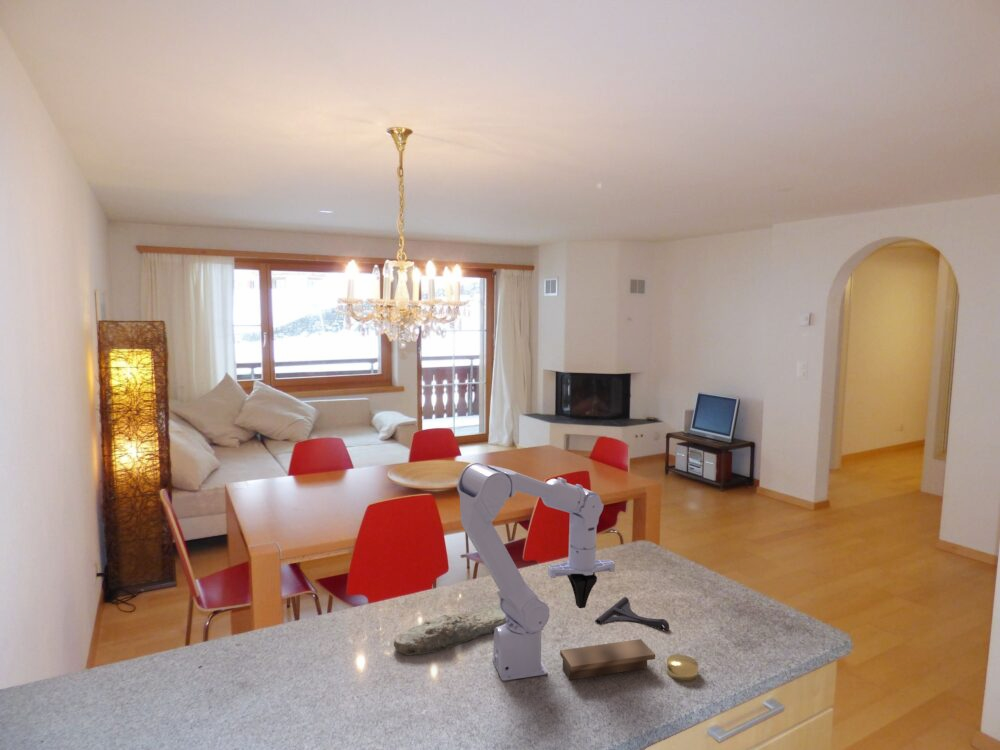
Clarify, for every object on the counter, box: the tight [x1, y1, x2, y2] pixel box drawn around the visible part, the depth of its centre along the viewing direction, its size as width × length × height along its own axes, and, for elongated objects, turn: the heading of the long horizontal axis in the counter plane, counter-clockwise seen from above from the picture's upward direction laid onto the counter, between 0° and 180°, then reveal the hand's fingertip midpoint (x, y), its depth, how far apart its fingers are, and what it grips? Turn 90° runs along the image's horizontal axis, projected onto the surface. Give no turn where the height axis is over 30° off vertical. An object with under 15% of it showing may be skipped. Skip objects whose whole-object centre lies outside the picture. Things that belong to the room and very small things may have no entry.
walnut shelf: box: [559, 638, 656, 680], centre depth 124 cm, size 18×6×4 cm, turn 105°
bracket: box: [594, 596, 670, 632], centre depth 145 cm, size 14×15×3 cm
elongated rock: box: [393, 603, 506, 656], centre depth 139 cm, size 35×5×10 cm
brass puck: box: [666, 653, 699, 683], centre depth 124 cm, size 6×6×2 cm
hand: (580, 606), depth 132 cm, fingers closed
